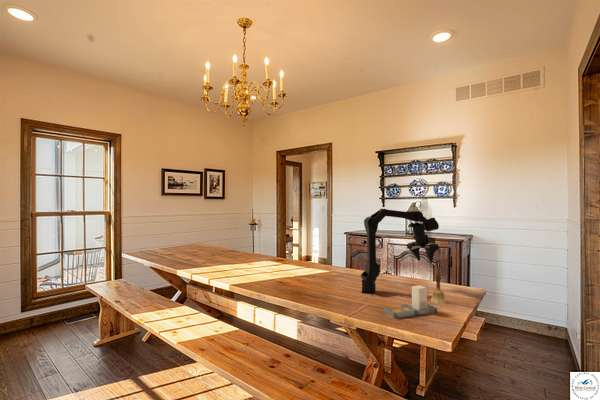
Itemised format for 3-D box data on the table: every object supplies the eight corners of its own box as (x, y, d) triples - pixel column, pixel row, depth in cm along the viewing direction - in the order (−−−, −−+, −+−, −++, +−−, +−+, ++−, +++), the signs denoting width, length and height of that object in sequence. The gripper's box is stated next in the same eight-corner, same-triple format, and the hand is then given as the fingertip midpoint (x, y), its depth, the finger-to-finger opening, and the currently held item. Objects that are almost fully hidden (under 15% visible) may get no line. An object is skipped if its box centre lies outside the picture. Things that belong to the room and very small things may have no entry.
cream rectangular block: (411, 309, 138) (411, 286, 138) (419, 307, 140) (419, 285, 140) (419, 312, 134) (419, 288, 134) (426, 310, 136) (426, 287, 136)
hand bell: (425, 300, 153) (425, 267, 153) (442, 299, 154) (441, 266, 154) (434, 306, 145) (434, 271, 145) (451, 305, 145) (451, 270, 145)
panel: (395, 321, 127) (395, 314, 127) (380, 312, 137) (380, 305, 137) (438, 315, 133) (438, 308, 133) (421, 306, 144) (421, 300, 144)
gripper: (444, 230, 165) (449, 259, 165) (419, 229, 182) (424, 255, 183) (427, 236, 161) (433, 265, 161) (403, 234, 179) (409, 261, 179)
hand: (425, 261), depth 171 cm, fingers open, 9 cm apart
